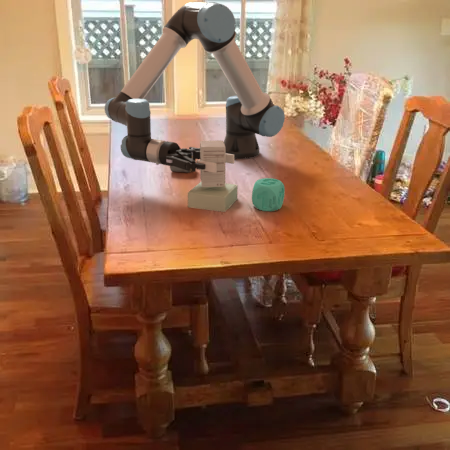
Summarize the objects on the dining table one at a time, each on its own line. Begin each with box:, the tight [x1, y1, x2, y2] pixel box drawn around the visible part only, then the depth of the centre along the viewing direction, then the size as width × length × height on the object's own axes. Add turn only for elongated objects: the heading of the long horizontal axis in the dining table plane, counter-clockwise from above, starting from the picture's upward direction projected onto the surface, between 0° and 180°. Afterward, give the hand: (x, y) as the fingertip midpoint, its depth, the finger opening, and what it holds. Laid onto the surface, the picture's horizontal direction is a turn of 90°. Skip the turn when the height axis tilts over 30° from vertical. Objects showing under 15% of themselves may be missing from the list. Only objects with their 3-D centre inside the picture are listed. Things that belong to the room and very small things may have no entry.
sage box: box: [187, 181, 238, 213], centre depth 178 cm, size 12×12×5 cm
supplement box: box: [199, 139, 226, 187], centre depth 174 cm, size 7×7×13 cm
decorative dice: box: [251, 177, 286, 212], centre depth 175 cm, size 8×8×8 cm
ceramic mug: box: [169, 156, 197, 174], centre depth 208 cm, size 11×8×8 cm
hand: (225, 163), depth 172 cm, fingers closed on supplement box, 10 cm apart
